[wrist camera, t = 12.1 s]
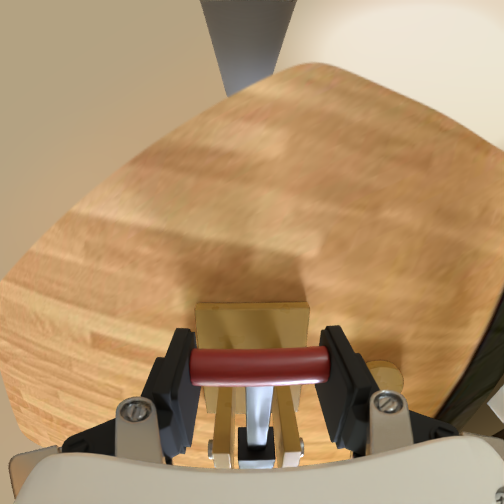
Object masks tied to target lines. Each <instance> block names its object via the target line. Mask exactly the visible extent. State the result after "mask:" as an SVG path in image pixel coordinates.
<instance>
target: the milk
mask: <svg viewBox="0 0 504 504" xmlns="http://www.w3.org/2000/svg"><path fill="white" fill-rule="evenodd" d="M488 405H489V406H490V407H491V409H492V410H493V411H494V412H495V414H496V415H497V416H498V417H499V418H500V420H501V421H502V422H503V424H504V385H503V386H502V387H501V388H500V389H499V391H498V392H497V393H496V394H495V395H494V396H493V397H492V398H491V399H490V400H489V401H488Z"/></svg>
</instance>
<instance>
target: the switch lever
mask: <svg viewBox="0 0 504 504" xmlns="http://www.w3.org/2000/svg"><path fill="white" fill-rule="evenodd" d="M189 374H190V380H191V383H192V385H194V386H211V387H245V398H246V427H238V464H239V469H264V468H273V466H274V463H275V459H276V458H275V444H274V429H273V427H269V423H270V416H271V409H272V401H273V393H274V386H288V385H303V384H316V383H325V382H327V381H328V379H329V376H330V356H329V352H328V349H327V348H326V347H325V346H313V347H296V348H270V349H198V348H194V349H192V351H191V354H190V361H189Z"/></svg>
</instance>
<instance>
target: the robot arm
mask: <svg viewBox="0 0 504 504" xmlns="http://www.w3.org/2000/svg"><path fill="white" fill-rule="evenodd" d="M319 346H325V347H326V348H327V349H328V352H329V356H330V376H329V379H328V381H327V382H325V383H316V384H315V388H316V391H317V395H318V398H319V401H320V405H321V408H322V412H323V415H324V419H325V422H326V426H327V429H328V433H329V436H330V440H331V442H336V446H337V449H341V448H346V449H348V450H351V452H350V459H348V460H342V461H336V462H329V463H322V464H314V465H305V466H295V467H283V468H264V469H217V468H198V467H186V466H176V465H174V461H173V457H174V456H176V455H178V454H179V453H180V454H185V451H186V447H191V444H192V438H193V432H194V425H195V419H196V414H197V408H198V402H199V396H200V390H201V386H194V385H192V383H191V380H190V374H189V361H190V354H191V351H192V349H194V348H197V345H196V336H195V332H191V331H190V329H188V328H176V330H175V332H174V335H173V338H172V340H171V343H170V345H169V348H168V351H167V353H166V356H165V358H164V357H157V358H156V360H155V362H154V365H153V367H152V369H151V372H150V374H149V377H148V379H147V382H146V384H145V387H144V389H143V392H142V394H141V397H131V398H128V399H125V400H123V401H122V402H121V403H120V404H119V405H118V407H117V409H116V418H114V419H112V420H109V421H107V422H105V423H102V424H100V425H98V426H95V427H93V428H90V429H88V430H85V431H83V432H80V433H78V434H75V435H73V436H71V437H69V438H68V439H67V440H66V441H64V443H63V445H62V447H59V448H58V446H57V445H54V446H50V447H47V448H43V449H39V450H34V451H30V452H25V453H21V454H17V455H15V456H13V457H12V458H11V460H10V462H9V474H10V479H11V484H12V488H13V493H14V497H15V501H14V504H504V440H503V439H500V438H495V437H489V436H484V435H478V434H473V433H468V432H462V434H459V432H458V431H457V429H456V428H455V427H454V426H452V425H451V424H448V423H446V422H442V421H439V420H436V419H433V418H430V417H427V416H425V415H422V414H419V413H416V412H413V411H410V410H409V409H408V404H407V401H406V398H405V397H404V396H403V395H402V394H400V393H399V392H396V391H394V390H388V389H386V390H380V389H379V387H378V385H377V383H376V381H375V379H374V378H373V376H372V374H371V372H370V370H369V368H368V367H367V365H366V363H365V361H364V359H363V358H362V356H361V355H360V354H359V353H355V352H354V351H353V349H352V347H351V345H350V343H349V341H348V340H347V338H346V336H345V334H344V332H343V330H342V329H341V327H340V326H339V325H337V326H326V328H325V330H321V335H320V343H319Z"/></svg>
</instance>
